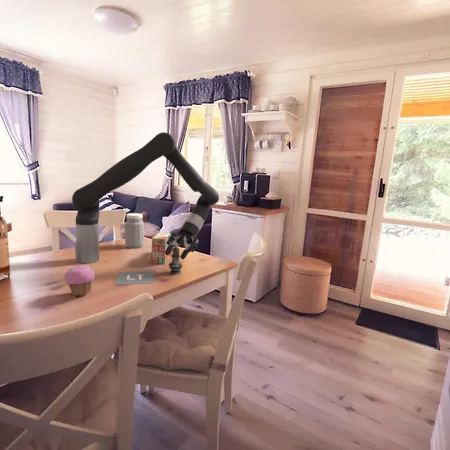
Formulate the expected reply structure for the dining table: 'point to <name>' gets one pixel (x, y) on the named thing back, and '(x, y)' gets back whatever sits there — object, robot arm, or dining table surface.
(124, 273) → the mat
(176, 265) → the grey chess piece
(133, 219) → the jar
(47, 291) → the dining table surface
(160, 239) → the stack of blocks
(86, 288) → the cupcake
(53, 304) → the dining table surface
